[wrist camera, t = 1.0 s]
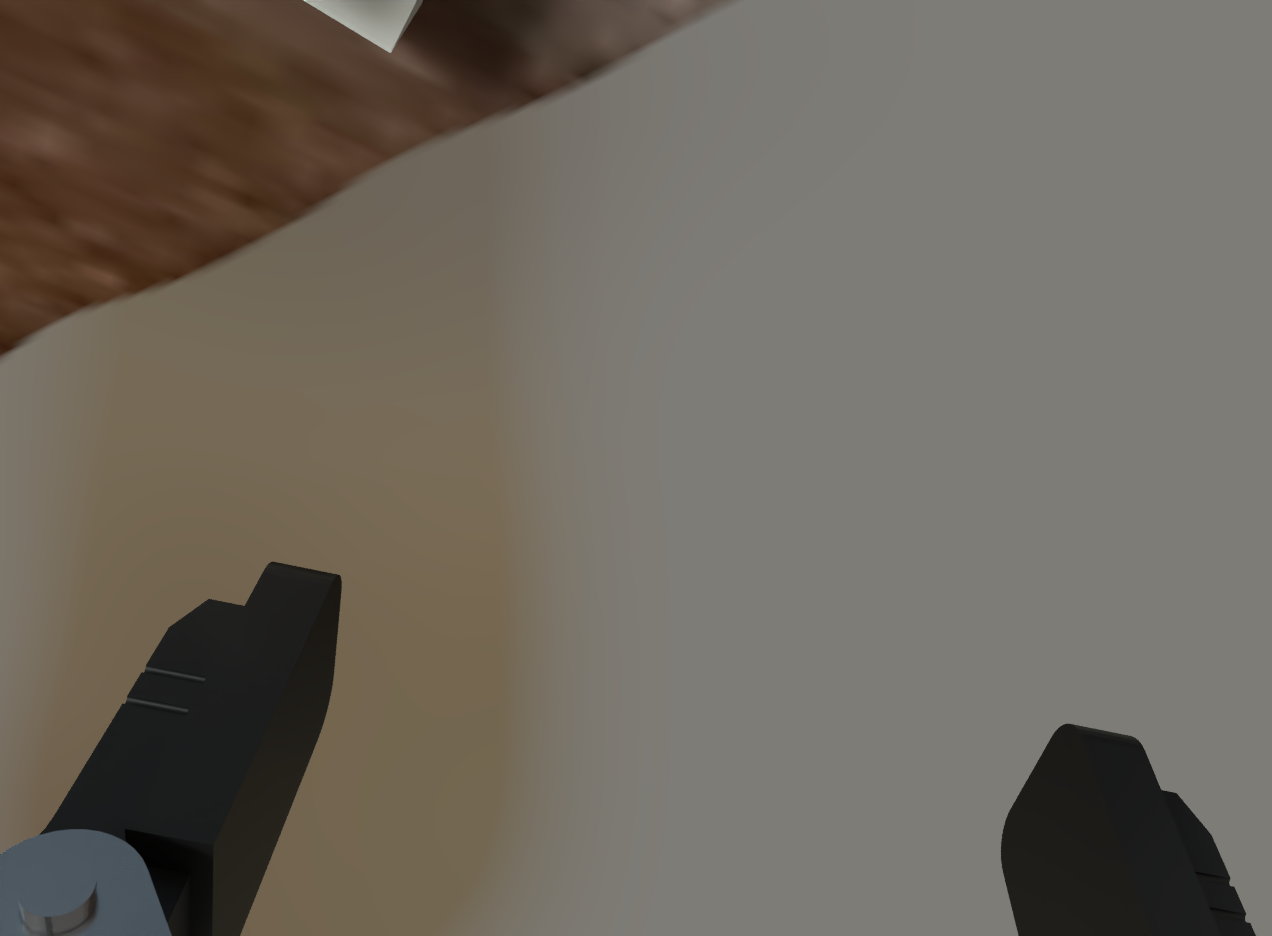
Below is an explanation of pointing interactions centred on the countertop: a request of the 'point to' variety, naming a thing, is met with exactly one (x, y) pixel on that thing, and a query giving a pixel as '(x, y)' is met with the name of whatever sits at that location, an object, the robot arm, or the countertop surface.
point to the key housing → (372, 17)
